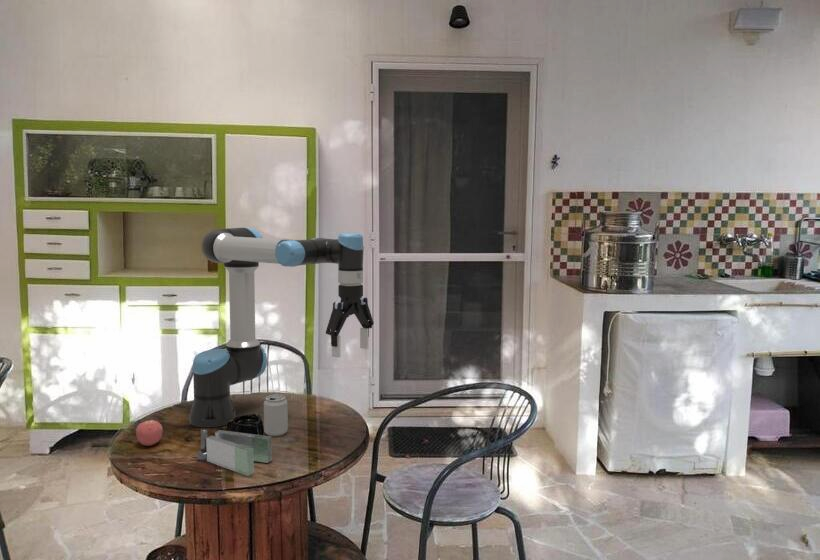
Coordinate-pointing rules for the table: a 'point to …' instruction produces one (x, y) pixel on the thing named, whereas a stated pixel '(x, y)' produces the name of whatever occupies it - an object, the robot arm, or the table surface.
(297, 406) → the table surface
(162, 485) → the table surface
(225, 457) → the base
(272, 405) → the can
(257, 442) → the tong jaw
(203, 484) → the table surface
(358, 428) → the table surface
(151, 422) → the apple
